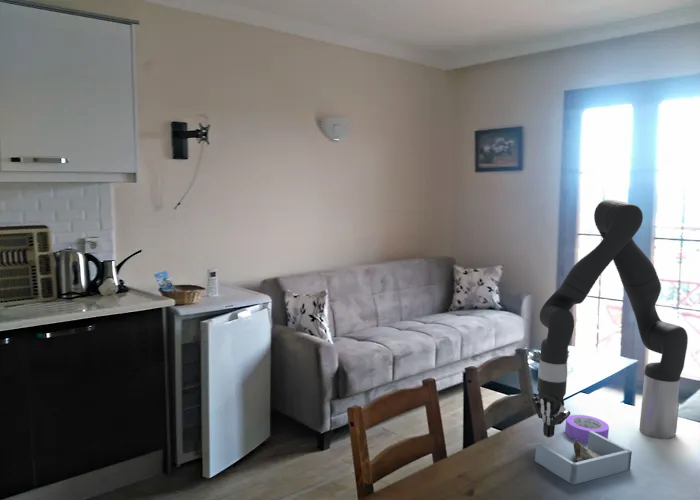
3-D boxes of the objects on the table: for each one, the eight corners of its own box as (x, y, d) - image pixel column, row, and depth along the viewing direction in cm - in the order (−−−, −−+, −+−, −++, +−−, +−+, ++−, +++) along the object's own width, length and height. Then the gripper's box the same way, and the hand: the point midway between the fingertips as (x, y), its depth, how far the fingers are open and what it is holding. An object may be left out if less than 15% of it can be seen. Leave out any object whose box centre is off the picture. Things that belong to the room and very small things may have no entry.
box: (590, 447, 163) (591, 430, 163) (630, 469, 152) (631, 451, 151) (534, 460, 155) (536, 442, 154) (572, 484, 143) (574, 465, 142)
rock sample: (618, 459, 149) (592, 431, 152) (597, 479, 148) (571, 451, 151) (606, 458, 159) (582, 432, 161) (586, 477, 158) (562, 450, 161)
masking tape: (612, 434, 173) (613, 422, 173) (601, 448, 164) (602, 435, 163) (572, 423, 180) (573, 411, 180) (559, 435, 171) (560, 423, 171)
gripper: (581, 382, 158) (576, 443, 160) (545, 367, 169) (541, 424, 172) (560, 386, 154) (555, 448, 157) (525, 370, 166) (521, 428, 169)
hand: (548, 435), depth 164 cm, fingers closed
